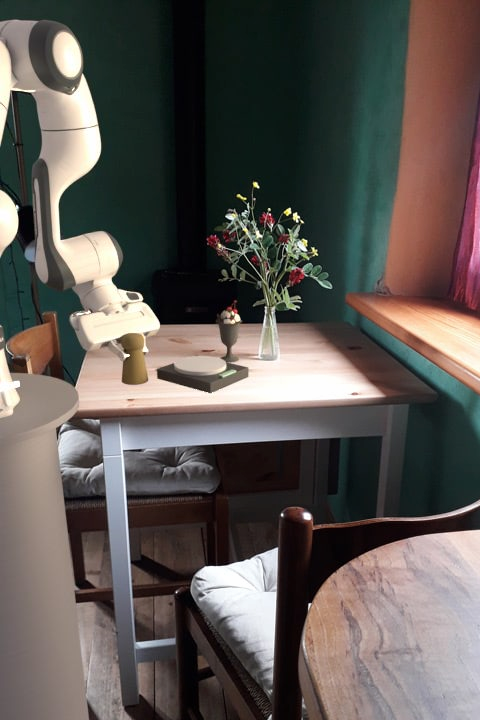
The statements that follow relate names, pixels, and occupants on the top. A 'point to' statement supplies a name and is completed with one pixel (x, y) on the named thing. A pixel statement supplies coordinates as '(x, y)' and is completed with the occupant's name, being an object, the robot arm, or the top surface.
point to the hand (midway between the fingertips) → (135, 356)
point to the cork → (134, 360)
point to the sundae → (229, 331)
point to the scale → (202, 373)
